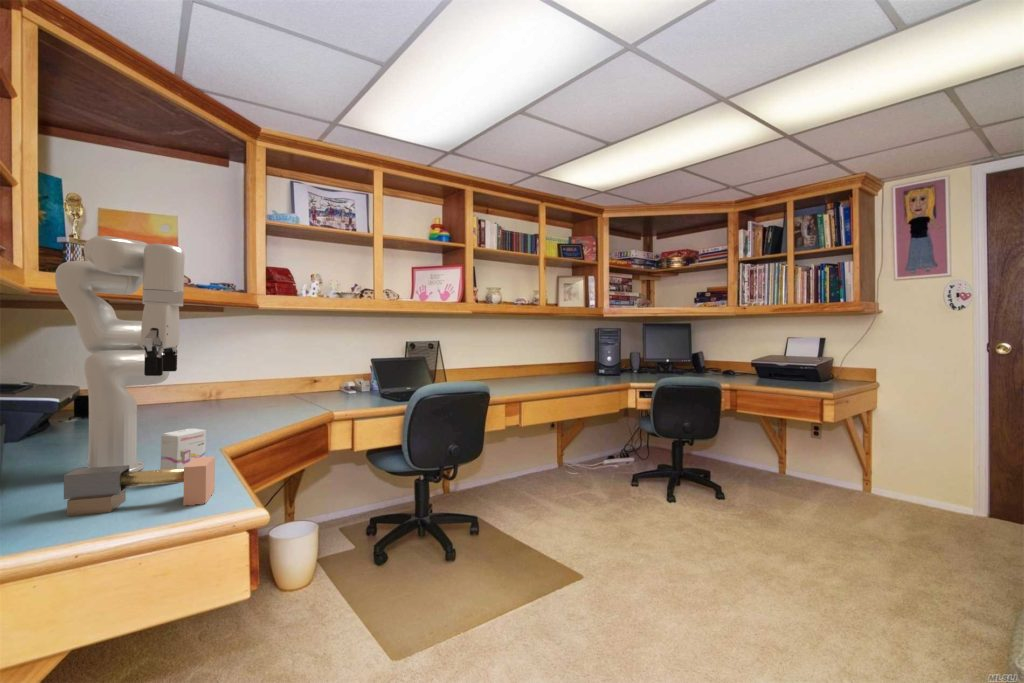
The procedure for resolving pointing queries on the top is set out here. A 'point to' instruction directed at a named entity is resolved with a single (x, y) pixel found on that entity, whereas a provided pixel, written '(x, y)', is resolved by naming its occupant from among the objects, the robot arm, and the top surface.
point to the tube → (152, 477)
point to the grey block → (94, 490)
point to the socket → (199, 480)
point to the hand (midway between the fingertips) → (161, 373)
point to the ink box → (182, 447)
